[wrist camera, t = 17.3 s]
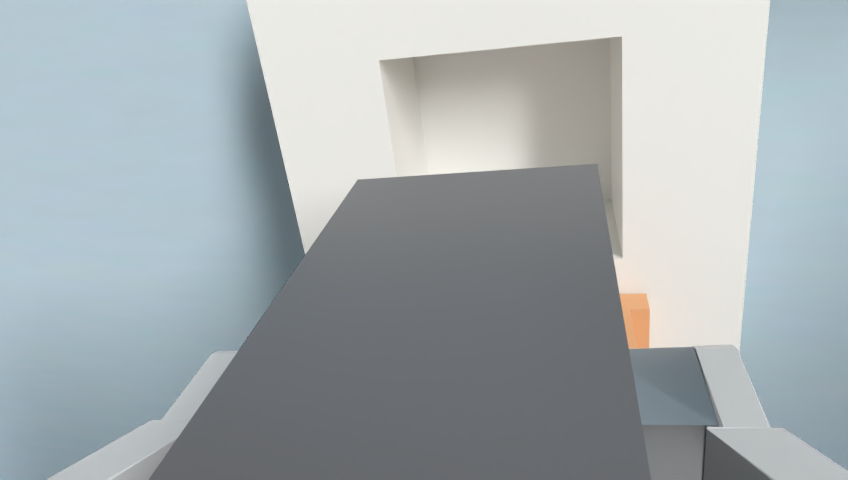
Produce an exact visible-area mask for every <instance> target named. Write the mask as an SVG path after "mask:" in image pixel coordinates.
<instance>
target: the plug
mask: <svg viewBox="0 0 848 480" xmlns="http://www.w3.org/2000/svg"><path fill="white" fill-rule="evenodd" d="M149 480H651V475H650V470H649V464H648V458H647V452H646V446H645V440H644V434H643V429H642V423H641V417H640V411H639V405H638V399H637V393H636V388H635V382H634V376H633V370H632V364H631V358H630V352H629V347H628V341H627V335H626V329H625V323H624V317H623V311H622V306H621V300H620V294H619V288H618V282H617V276H616V270H615V265H614V259H613V253H612V247H611V241H610V235H609V229H608V224H607V218H606V212H605V206H604V200H603V194H602V189H601V183H600V177H599V171H598V165H597V164H586V165H571V166H556V167H541V168H525V169H510V170H495V171H480V172H465V173H449V174H434V175H419V176H404V177H389V178H373V179H358V180H357V181H356V183H355V184H354V186H353V187H352V188H351V190H350V191H349V193H348V194H347V196H346V197H345V198H344V200H343V201H342V203H341V204H340V206H339V207H338V208H337V210H336V211H335V213H334V214H333V216H332V217H331V219H330V220H329V221H328V223H327V224H326V226H325V227H324V229H323V230H322V231H321V233H320V234H319V236H318V237H317V239H316V240H315V241H314V243H313V244H312V246H311V247H310V249H309V250H308V252H307V253H306V254H305V256H304V257H303V259H302V260H301V262H300V263H299V264H298V266H297V267H296V269H295V270H294V272H293V273H292V274H291V276H290V277H289V279H288V280H287V282H286V283H285V285H284V286H283V287H282V289H281V290H280V292H279V293H278V295H277V296H276V297H275V299H274V300H273V302H272V303H271V305H270V306H269V308H268V309H267V310H266V312H265V313H264V315H263V316H262V318H261V319H260V320H259V322H258V323H257V325H256V326H255V328H254V329H253V330H252V332H251V333H250V335H249V336H248V338H247V339H246V341H245V342H244V343H243V345H242V346H241V348H240V349H239V351H238V352H237V353H236V355H235V356H234V358H233V359H232V361H231V362H230V363H229V365H228V366H227V368H226V369H225V371H224V372H223V374H222V375H221V376H220V378H219V379H218V381H217V382H216V384H215V385H214V386H213V388H212V389H211V391H210V392H209V394H208V395H207V396H206V398H205V399H204V401H203V402H202V404H201V405H200V407H199V408H198V409H197V411H196V412H195V414H194V415H193V417H192V418H191V419H190V421H189V422H188V424H187V425H186V427H185V428H184V430H183V431H182V432H181V434H180V435H179V437H178V438H177V440H176V441H175V442H174V444H173V445H172V447H171V448H170V450H169V451H168V452H167V454H166V455H165V457H164V458H163V460H162V461H161V463H160V464H159V465H158V467H157V468H156V470H155V471H154V473H153V474H152V475H151V477H150V478H149Z"/></svg>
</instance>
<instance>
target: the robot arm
mask: <svg viewBox="0 0 848 480" xmlns="http://www.w3.org/2000/svg"><path fill="white" fill-rule="evenodd" d="M238 351H239V350H220V351H217V352H214V353H212V354H211V355H210V356H209V358H208V359H207V360H206V362H205V363H204V364H203V365H202V367H201V368H200V369H199V371H198V372H197V373H196V375H195V376H194V377H193V379H192V380H191V381H190V383H189V384H188V385H187V387H186V388H185V389H184V390H183V392H182V393H181V394H180V396H179V397H178V398H177V400H176V401H175V402H174V404H173V405H172V406H171V408H170V409H169V410H168V412H167V413H166V414H165V415H164V417H163V418H162V419H161V420H150V421H149V422H147V423H145V424H143V425H142V426H140V427H138V428H136V429H134V430H133V431H131V432H129V433H127V434H126V435H124V436H122V437H120V438H119V439H117V440H115V441H113V442H111V443H110V444H108V445H106V446H104V447H103V448H101V449H99V450H97V451H96V452H94V453H92V454H90V455H89V456H87V457H85V458H83V459H81V460H80V461H78V462H76V463H74V464H73V465H71V466H69V467H67V468H66V469H64V470H62V471H60V472H58V473H57V474H55V475H53V476H51V477H50V478H48V479H46V480H149V478H150V477H151V475H152V474H153V473H154V471H155V470H156V468H157V467H158V465H159V464H160V463H161V461H162V460H163V458H164V457H165V455H166V454H167V452H168V451H169V450H170V448H171V447H172V445H173V444H174V442H175V441H176V440H177V438H178V437H179V435H180V434H181V432H182V431H183V430H184V428H185V427H186V425H187V424H188V422H189V421H190V419H191V418H192V417H193V415H194V414H195V412H196V411H197V409H198V408H199V407H200V405H201V404H202V402H203V401H204V399H205V398H206V396H207V395H208V394H209V392H210V391H211V389H212V388H213V386H214V385H215V384H216V382H217V381H218V379H219V378H220V376H221V375H222V374H223V372H224V371H225V369H226V368H227V366H228V365H229V363H230V362H231V361H232V359H233V358H234V356H235V355H236V353H237V352H238ZM629 352H630V358H631V364H632V370H633V376H634V382H635V388H636V393H637V399H638V405H639V411H640V417H641V423H642V429H643V434H644V440H645V446H646V452H647V458H648V464H649V470H650V475H651V480H848V471H847V470H846V469H844V468H843V467H841V466H840V465H838V464H837V463H835V462H834V461H832V460H831V459H829V458H828V457H826V456H825V455H823V454H822V453H820V452H819V451H817V450H816V449H814V448H813V447H811V446H810V445H808V444H807V443H805V442H804V441H802V440H801V439H799V438H798V437H796V436H795V435H793V434H792V433H790V432H789V431H787V430H786V429H784V428H771V427H770V425H769V422H768V420H767V417H766V415H765V413H764V410H763V408H762V406H761V403H760V401H759V399H758V396H757V394H756V391H755V389H754V387H753V384H752V382H751V380H750V377H749V375H748V372H747V370H746V368H745V365H744V363H743V361H742V358H741V356H740V354H739V351H738V349H737V348H736V347H735V346H734V345H732V344H728V345H704V346H692V347H665V348H629Z"/></svg>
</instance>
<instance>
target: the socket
mask: <svg viewBox="0 0 848 480" xmlns="http://www.w3.org/2000/svg"><path fill="white" fill-rule="evenodd" d="M246 1H247V5H248V10H249V14H250V18H251V23H252V27H253V31H254V36H255V40H256V44H257V49H258V53H259V57H260V62H261V66H262V70H263V75H264V79H265V83H266V88H267V92H268V96H269V101H270V105H271V109H272V114H273V118H274V122H275V127H276V131H277V135H278V140H279V144H280V148H281V152H282V157H283V161H284V165H285V170H286V174H287V178H288V183H289V187H290V191H291V196H292V200H293V204H294V209H295V213H296V217H297V222H298V226H299V230H300V235H301V239H302V243H303V248H304V252H305V254H306V253H307V252H308V250H309V249H310V247H311V246H312V244H313V243H314V241H315V240H316V239H317V237H318V236H319V234H320V233H321V231H322V230H323V229H324V227H325V226H326V224H327V223H328V221H329V220H330V219H331V217H332V216H333V214H334V213H335V211H336V210H337V208H338V207H339V206H340V204H341V203H342V201H343V200H344V198H345V197H346V196H347V194H348V193H349V191H350V190H351V188H352V187H353V186H354V184H355V183H356V181H357V180H358V179H373V178H389V177H404V176H419V175H434V174H449V173H465V172H480V171H495V170H510V169H525V168H541V167H556V166H571V165H586V164H597V165H598V171H599V177H600V183H601V189H602V194H603V200H604V206H605V212H606V218H607V224H608V229H609V235H610V241H611V247H612V253H613V259H614V265H615V270H616V276H617V282H618V288H619V294H646V295H647V299H648V304H649V308H650V329H649V348H665V347H692V346H704V345H728V344H732V345H734V346H735V347H736V348H737V349H738V351H739V352H740V341H741V329H742V318H743V306H744V295H745V283H746V272H747V260H748V249H749V237H750V226H751V214H752V203H753V191H754V180H755V168H756V157H757V145H758V134H759V122H760V111H761V100H762V88H763V77H764V65H765V54H766V42H767V31H768V19H769V8H770V0H246Z"/></svg>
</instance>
